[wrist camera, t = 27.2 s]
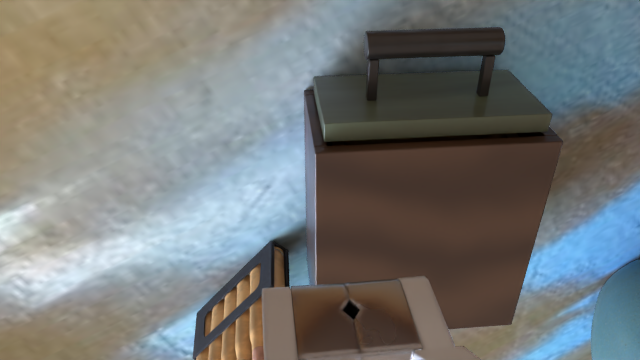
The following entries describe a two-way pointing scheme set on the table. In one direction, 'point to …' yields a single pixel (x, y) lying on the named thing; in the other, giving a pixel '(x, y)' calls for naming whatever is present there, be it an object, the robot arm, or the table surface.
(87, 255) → the table surface
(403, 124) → the drawer
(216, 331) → the ammunition clip
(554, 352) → the table surface
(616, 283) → the teal bowl
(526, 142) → the cabinet
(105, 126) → the table surface
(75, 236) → the table surface
